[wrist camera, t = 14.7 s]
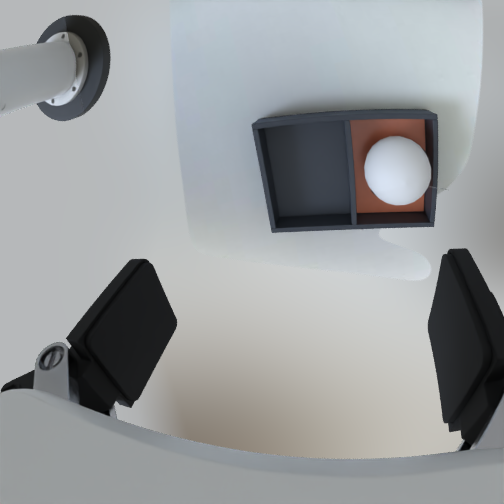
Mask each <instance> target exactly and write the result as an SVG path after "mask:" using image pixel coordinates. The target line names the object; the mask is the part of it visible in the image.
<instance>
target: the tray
mask: <svg viewBox="0 0 504 504" xmlns="http://www.w3.org/2000/svg"><path fill="white" fill-rule="evenodd" d="M437 119H438V118H437V114H435V113H433V112H431V111H429V110H417V109H374V110H348V111H331V112H318V113H307V114H297V115H288V116H279V117H271V118H264V119H258V120H257V121H256V122H254V123H253V124H252V129H253V135H254V140H255V145H256V150H257V155H258V161H259V166H260V171H261V176H262V182H263V187H264V192H265V198H266V203H267V209H268V214H269V220H270V225H271V231H272V233H277V232H299V231H322V230H346V229H374V228H403V227H404V228H405V227H434V221H435V210H436V197H437V178H438V120H437ZM389 136H401V137H404V138H407V139H411V140H413V141H414V142H415V143H417V144H418V145H419V146H421V148H423V149H424V151H425V152H426V154H427V156H428V158H429V162H430V166H431V180H430V183H429V186H430V187H429V186H428V188H427V190H426V191H425V193H424V194H423V195H422V197H420V198H419V199H418V200H416V201H415V202H412V203H410V204H407V205H392V204H389V203H386V202H384V201H382V200H381V199H379V198H378V197H376V196H375V195H374V194H373V193H372V192H371V189H370V188H369V186H368V183H367V181H366V178H365V170H364V165H365V161H366V157H367V154H368V152H369V150H370V149H371V147H372V146H373V145H374V144H375V143H377V142H378V141H379V140H381V139H383V138H386V137H389ZM433 187H435V188H433Z"/></svg>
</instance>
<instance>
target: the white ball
mask: <svg viewBox="0 0 504 504" xmlns="http://www.w3.org/2000/svg"><path fill="white" fill-rule="evenodd" d="M364 170H365V178H366V181H367V183H368V186H369V188H370V189H371V192H372V193H373V194H374V195H375V196H376V197H378V198H379V199H381V200H382V201H384V202H386V203H389V204H392V205H407V204H410V203H412V202H415V201H416V200H418V199H419V198H420V197H422V195H423V194H424V193H425V191H426V190H427V188H428V186H429V183H430V180H431V166H430V162H429V158H428V156H427V154H426V152H425V151H424V149H423V148H421V146H419V145H418V144H417V143H415V142H414V141H413V140H411V139H407V138H404V137H401V136H389V137H386V138H383V139H381V140H379V141H378V142H377V143H375V144H374V145H373V146H372V147H371V149H370V150H369V152H368V154H367V157H366V161H365V165H364ZM429 187H430V186H429ZM433 188H435V187H433ZM440 189H441V188H440ZM445 190H446V189H445Z"/></svg>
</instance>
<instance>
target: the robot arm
mask: <svg viewBox="0 0 504 504" xmlns="http://www.w3.org/2000/svg"><path fill="white" fill-rule="evenodd" d="M87 72H88V53H87V49H86V46H85V44H84V42H83V40H82V39H81V38H80V37H79V36H78V35H76V34H75V33H72V32H60V33H57V34H55V35H53V36H52V37H50V38H49V39H48V40H47V41H46V42H45V43H39V44H32V45H26V46H19V47H14V48H9V49H3V50H0V117H1V116H3V115H6V114H8V113H11V112H14V111H16V110H19V109H22V108H25V107H27V106H31V105H33V104H37V103H40V102H43V101H46V102H47V103H48V104H51V105H54V106H60V105H64V104H67V103H69V102H71V101H72V100H73V99H74V98H75V97H76V96H77V95H78V94H79V93H80V91H81V89H82V87H83V85H84V83H85V80H86V76H87ZM176 327H177V319H176V317H175V315H174V312H173V310H172V308H171V306H170V304H169V301H168V299H167V297H166V295H165V292H164V290H163V288H162V285H161V283H160V281H159V279H158V276H157V274H156V271H155V269H154V267H153V265H152V264H151V263H149V261H148V260H147V259H132V260H130V261H129V262H128V263H127V264H126V265H125V266H124V268H123V269H122V270H121V271H120V272H119V273H118V275H117V276H116V277H115V278H114V279H113V280H112V282H111V283H110V284H109V285H108V287H106V289H105V290H104V291H103V292H102V294H101V295H100V296H99V297H98V298H97V300H96V301H95V302H94V303H93V305H92V306H91V307H90V308H89V309H88V311H87V312H86V313H85V315H84V316H83V317H82V318H81V320H80V321H79V322H78V323H77V325H76V326H75V327H74V329H73V330H72V331H71V332H70V334H69V335H68V336H67V338H66V339H67V340H68V342H69V343H70V344H71V348H70V349H69V348H68V347H67V346H66V344H64V343H62V342H56V343H53V344H51V345H49V346H47V347H46V348H45V349H44V350H43V351H42V352H41V353H40V354H39V356H38V358H37V360H36V363H35V370H33V371H31V372H29V373H27V374H25V375H23V376H21V377H18V378H16V379H14V380H12V381H10V382H8V383H6V384H5V385H4V386H3V387H2V389H1V393H0V504H504V316H503V314H502V311H501V309H500V307H499V305H498V303H497V301H496V299H495V297H494V295H493V294H492V292H490V290H489V288H488V286H487V284H486V282H485V281H484V278H483V277H482V275H481V273H480V271H479V269H478V267H477V265H476V263H475V262H474V260H473V258H472V256H471V254H470V253H469V251H468V250H467V249H465V248H464V249H450V250H449V251H448V253H447V254H444V255H443V256H442V260H441V266H440V271H439V276H438V281H437V286H436V291H435V295H434V300H433V304H432V308H431V312H430V316H429V320H428V333H429V337H430V342H431V346H432V352H433V357H434V362H435V368H436V373H437V379H438V385H439V392H440V400H441V408H442V416H443V421H444V423H448V425H449V432H453V431H459V430H461V436H462V439H463V441H462V443H461V444H460V446H459V447H458V449H457V450H456V451H455V452H448V453H440V454H431V455H422V456H412V457H399V458H378V459H321V458H304V457H291V456H280V455H271V454H262V453H255V452H249V451H242V450H236V449H230V448H224V447H219V446H213V445H209V444H204V443H200V442H195V441H190V440H186V439H182V438H178V437H174V436H171V435H167V434H163V433H159V432H156V431H153V430H149V429H146V428H142V427H139V426H136V425H133V424H130V423H127V422H124V421H121V420H118V419H117V416H116V411H115V406H114V403H115V401H117V402H118V403H119V404H120V405H123V406H126V407H130V408H131V407H132V405H133V404H134V402H135V401H136V400H138V398H139V397H140V395H141V393H142V391H143V389H144V387H145V386H146V384H147V382H148V380H149V378H150V376H151V374H152V372H153V370H154V368H155V367H156V364H157V363H158V361H159V359H160V357H161V355H162V354H163V352H164V350H165V348H166V346H167V344H168V342H169V340H170V339H171V337H172V335H173V333H174V331H175V329H176Z"/></svg>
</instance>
